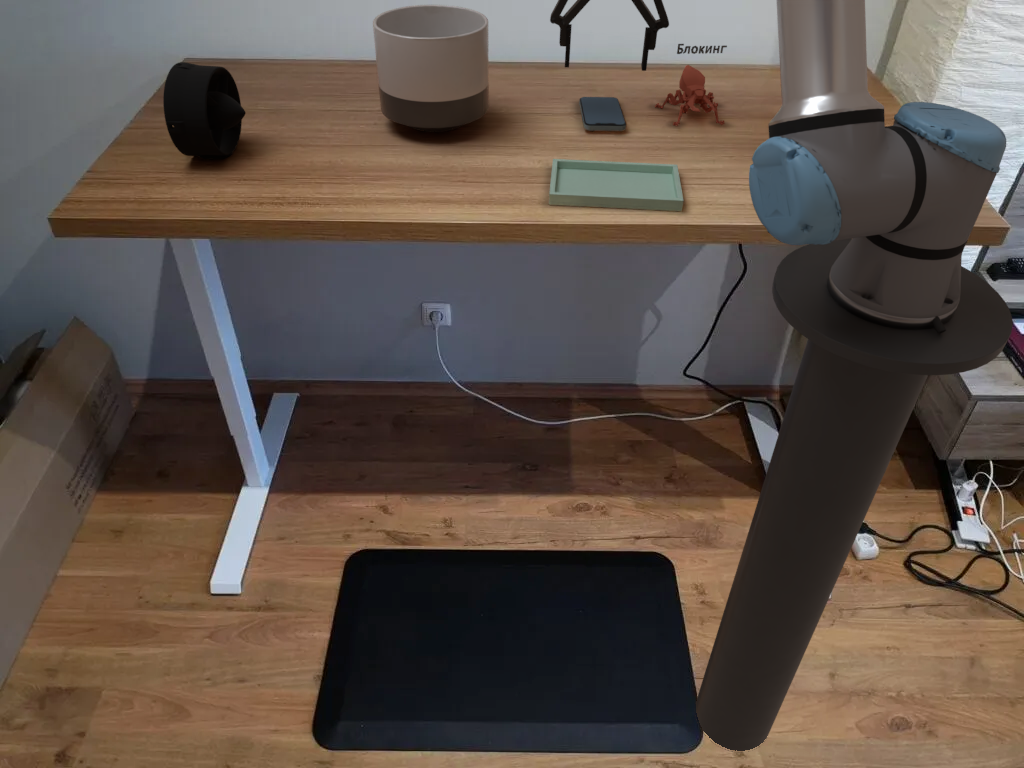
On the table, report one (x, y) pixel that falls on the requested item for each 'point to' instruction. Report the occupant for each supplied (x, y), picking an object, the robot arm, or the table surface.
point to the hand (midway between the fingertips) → (605, 66)
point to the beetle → (693, 88)
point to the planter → (432, 66)
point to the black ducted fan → (202, 110)
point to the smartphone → (602, 114)
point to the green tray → (615, 185)
